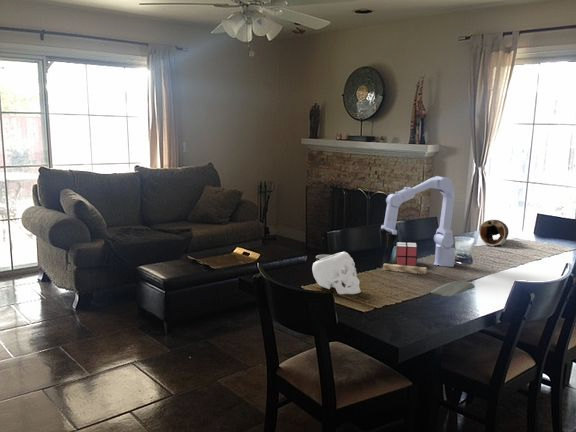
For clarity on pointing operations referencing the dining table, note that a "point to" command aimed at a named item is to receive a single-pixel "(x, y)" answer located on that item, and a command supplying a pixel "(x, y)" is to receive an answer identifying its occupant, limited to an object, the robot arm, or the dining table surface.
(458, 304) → the dining table surface
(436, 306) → the dining table surface
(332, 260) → the skull planter
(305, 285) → the dining table surface
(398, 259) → the puzzle cube
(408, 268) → the board
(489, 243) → the clay pot
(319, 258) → the coffee mug
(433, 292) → the stone slab
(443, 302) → the dining table surface
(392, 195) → the robot arm
